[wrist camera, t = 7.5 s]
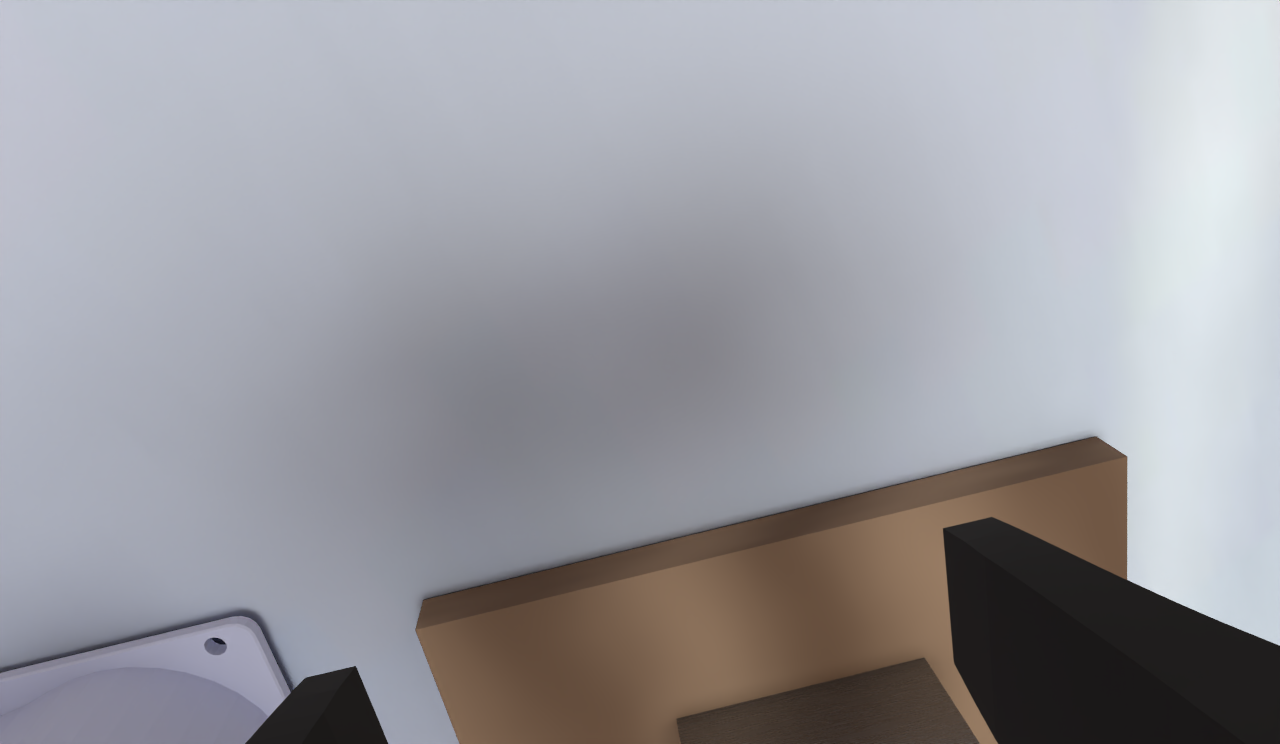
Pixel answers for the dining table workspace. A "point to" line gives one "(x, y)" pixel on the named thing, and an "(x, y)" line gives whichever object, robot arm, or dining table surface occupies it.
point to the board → (751, 606)
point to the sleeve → (841, 713)
